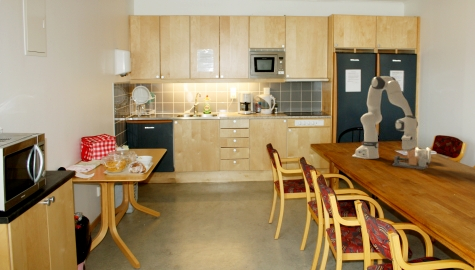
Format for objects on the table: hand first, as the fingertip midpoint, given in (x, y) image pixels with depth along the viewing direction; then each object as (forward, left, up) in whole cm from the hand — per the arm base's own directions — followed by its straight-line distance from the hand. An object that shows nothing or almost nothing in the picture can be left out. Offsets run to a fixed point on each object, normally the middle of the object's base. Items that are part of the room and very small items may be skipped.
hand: (409, 154), depth 348 cm
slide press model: (+1, 0, -10) cm, 10 cm away
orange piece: (+4, 0, -8) cm, 9 cm away
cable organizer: (+2, +21, -10) cm, 23 cm away
